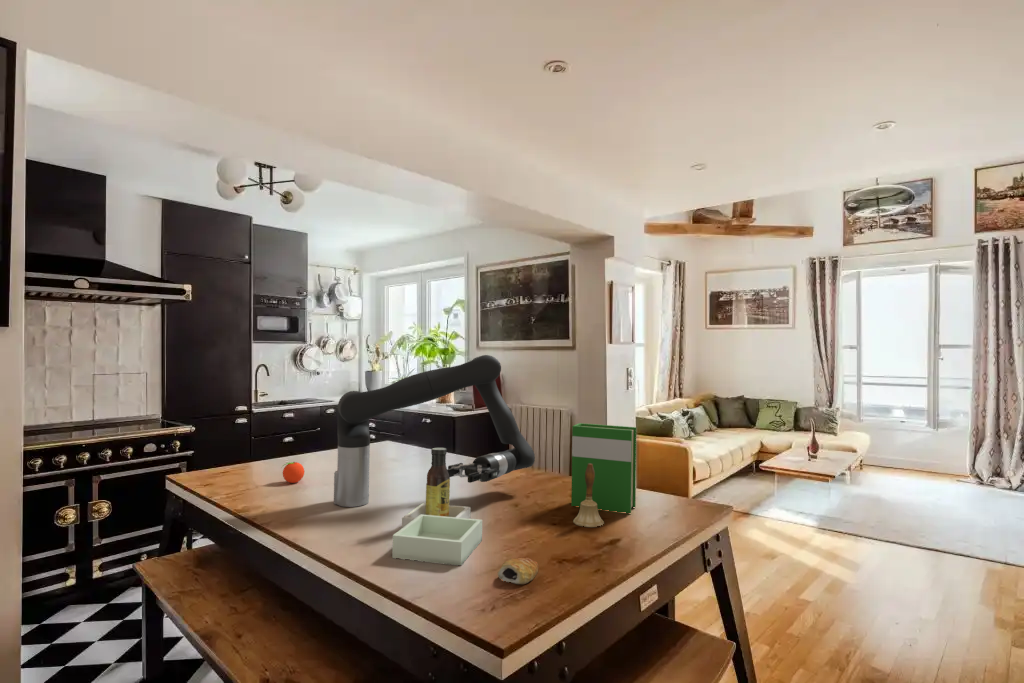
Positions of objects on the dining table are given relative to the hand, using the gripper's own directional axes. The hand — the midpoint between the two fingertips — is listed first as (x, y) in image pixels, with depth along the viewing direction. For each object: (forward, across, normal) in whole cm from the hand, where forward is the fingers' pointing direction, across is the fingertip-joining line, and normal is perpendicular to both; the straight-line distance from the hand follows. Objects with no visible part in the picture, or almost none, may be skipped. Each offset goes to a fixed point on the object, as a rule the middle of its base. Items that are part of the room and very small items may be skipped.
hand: (456, 476), depth 151 cm
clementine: (+4, -68, +11) cm, 69 cm away
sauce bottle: (+8, 0, +11) cm, 14 cm away
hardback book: (-33, +30, +11) cm, 46 cm away
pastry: (+24, +36, +12) cm, 44 cm away
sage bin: (+22, +12, +11) cm, 27 cm away
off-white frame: (+8, 0, +11) cm, 14 cm away
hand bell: (-17, +33, +11) cm, 38 cm away
